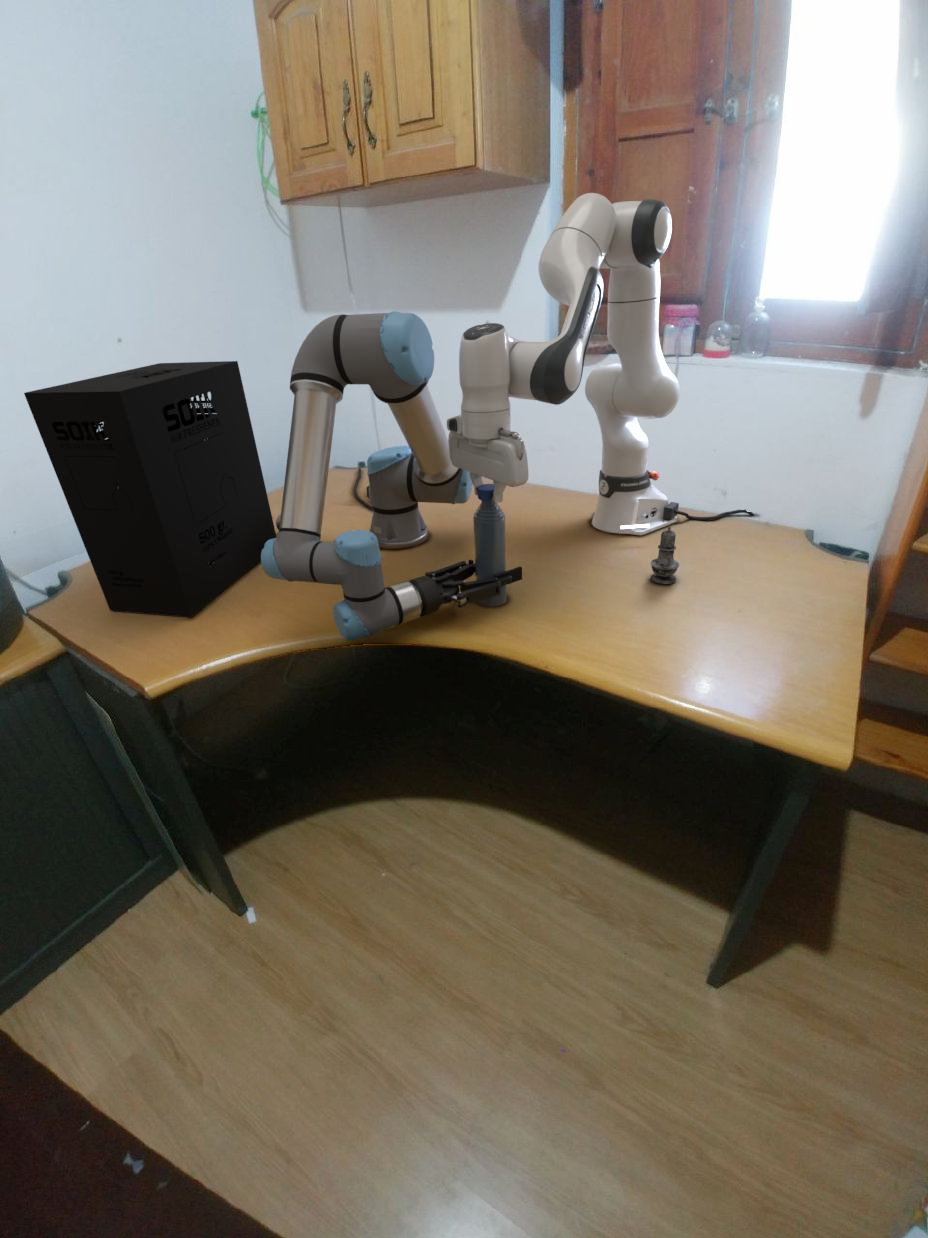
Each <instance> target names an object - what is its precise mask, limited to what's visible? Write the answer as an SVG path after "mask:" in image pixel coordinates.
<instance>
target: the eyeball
mask: <svg viewBox="0 0 928 1238" xmlns="http://www.w3.org/2000/svg"><path fill="white" fill-rule="evenodd" d="M280 518H281V513H280V514H279V515H278V516H277V517H276V520H275V527H276V529H277V530H278V531H279V526H280Z"/></svg>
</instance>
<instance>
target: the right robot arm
mask: <svg viewBox="0 0 928 1238" xmlns="http://www.w3.org/2000/svg"><path fill="white" fill-rule="evenodd" d="M672 218H673V217H672V213H671V211H670V209H669V207H668V206H667V205H666V203H665V202H664V201H662V200H660V199H652V198H645V199H643V200H626V201H625V200H624V201H617V202H616V201H615V202H614V203H612V202H611V201H610V200H609V199H608V198H607V197H606V196H605V195H602V194H600V193H597V192H587V193H584V194H581V195H579V196H578V197H577V198H575V200H574V201H572V203H571V204H570V205H569V207H568V208H567V209H566V210H565V212H564V213H563V214H562V216H561V217H560V219H559V220H558V222H557V223H556V225H555V227H554V228H553V230H552V232H551V234H550V235H549V238H548V240H547V241H546V243H545V245H544V247H543V249H542V251H541V253H540V257H539V261H538V274H539V275H538V276H539V279H540V282H541V285H542V286H543V288H544V289H545V291H546V292H547V294H548V295H549V296H550V297H551V298H553V300H555V301H556V302H558V303H560V304H563V305H566V306H567V307H568V309H567V313H566V315H565V319H564V322H563V324H562V325H563V326H562V328H561V331H560V334H559V335H558V336H557V337H555V338H554V339H552V340H548V341H524V340H519V339H517V338H515V337H513V336H511V335H509V334H508V333H507V331H506V327H505V326H504V325H503V324H502V323H496V322H490V323H483V324H477V325H474V326H471V327H470V328H467V329H465V331H464V332H463V333H462V335H461V338H460V344H459V350H458V377H459V386H460V390H461V393H462V398H461V403H460V414H458V415H456V416H453V417H449V418H447V419H446V429H447V430H448V432H449V433H448V440H449V454H450V460H451V462H452V464H453V466H455V467H457V468H460V469H463V470H466V471H469V472H470V478H471V480H472V483H473V485H472V486H473V487H474V488H473V489H474V495H475V496H477V497H478V486H480V485H483V484H484V481H483V478H485V479H489V480H491V481H492V484H493V485H494V486H495V489H494V492H492V493H491V501H492V502H495V503H498V504H499V503H502V502H503V501H504V492H505V490H506V488H507V486H508V487H510V488H516V487H519V486H522V485H525V484H526V483H527V482H528V480H529V478H530V477H529V463H528V462H529V461H528V453H527V449H526V446H525V442H524V440H523V439H522V437H521V436H520V433H518V432H517V431H512V429H511V422H512V421H511V402H510V398H514V399H521V400H529V401H538V402H541V403H547V404H550V405H556V406H559V405H562V404H564V403H565V402H567V401H568V400H569V399H570V398H571V397H572V396H573V395H574V394H575V393H576V392H577V390H578V389H579V387H580V385H581V381H582V378H583V373H584V365H585V359H586V356H587V352H588V348H589V345H590V341H591V339H592V336H593V332H594V330H595V326H596V322H597V319H598V316H599V312H600V309H601V305H602V301H603V296H604V279H603V276H602V273H601V272H600V270H601V269H610V273H609V279H608V288H607V326H606V327H607V330H606V331H607V332H606V333H607V334H606V336H607V341H608V342H609V344H610V346H611V347H612V348H613V349H614V350H615V352H616V354H617V356H618V359H619V362H620V363H616V362H615V363H607V364H603V365H597V366H596V367H594V368H593V369H592V370H591V371H590V373H589V374H588V376H587V378H586V381H585V386H584V394H585V397H586V400H587V401H588V402H589V404H590V405H591V407H592V408H593V411H594V413H595V414H596V418H597V420H598V421H597V422H598V425H599V428H600V434H601V441H602V442H601V443H602V444H601V445H602V447H601V468H600V470H599V474H598V492H599V493H598V498H597V502H596V507H595V511H594V514H593V517H592V520H591V525H592V526H593V527H594V528H595V529H597V530H599V531H601V532H605V533H611V534H623V535H625V534H626V535H632V536H633V535H634V536H645V535H646V534H650V533H652V532H654V531H657V530H660V529H662V528H665V527H668V526H670V525H672V524H675V523H677V522H678V515H680V516H684V517H685V518H686V519H688V520H692V521H693V520H694V521H712V520H718V519H720V518H723V517H725V516H732V515H735V514H748V515H749V516H750V517H755V516H756V515H755V513H754V512H752V511H751V512H747V511H746V510H747V509H744V510H741V509H736V510H729V511H725V512H721V513H719V514H717V515H712V516H695V515H694V516H693V515H690V514H689V513H688V512H684V511H680V510H679V505H680V503H679V502H674V501H671V502H670V501H669V498H668V497H667V496H666V495H665V494H664V493H663V492H661V491H660V490H659V489H658V488H656V487H655V486H654V485H652V483H651V480H653V481H658V479H659V478H660V473H659V472H657V471H654V470H651V471H649V470H648V469H647V466H648V458H649V457H648V455H649V447H650V442H649V437H648V435H647V434H646V433H645V432H644V431H643V429H642V428H641V426H640V423H639V420H638V419H643V420H651V419H663V418H665V417H667V416H668V415H670V414H671V413H672V412H673V411H674V410H675V408H676V406H677V404H678V403H679V400H680V394H681V386H680V383H679V380H678V378H677V377H676V376H675V374H673V373H672V371H671V369H670V368H669V366H668V364H667V362H666V359H665V357H664V354H663V351H662V346H661V342H660V341H661V340H660V334H659V333H660V331H659V329H660V328H659V326H660V325H659V324H660V299H661V298H660V297H661V272H660V271H661V269H660V259H661V258H662V257H663V255H665V252H666V250H667V248H668V247H669V244H670V241H671V237H672V231H673V219H672ZM482 477H483V478H482Z"/></svg>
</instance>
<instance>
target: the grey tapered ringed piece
mask: <svg viewBox="0 0 928 1238" xmlns="http://www.w3.org/2000/svg"><path fill="white" fill-rule="evenodd" d="M676 536H677V535H676V532H675V531H674V530H672V527H671V526H667V529H666V530H663V531H662V532H661V535H660V542H659V543H660V544H658V545H657V548H658V555H657V558H653V559H652V560H651V561H650V566H651V570H652V572H653V573H652V574H651V575H650V577H649V579H650V580H651V581H652V582H653V583H655V584H660V585H671V584H674V583H675V582H676V580H677V578H676V576H674V575H675V573H676V572H677V570H678V569H679V567H680V563H679V562H678V561H677V560H676V559H674V554H675V551H676V549H677V547H676V546H675V543H676Z"/></svg>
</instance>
